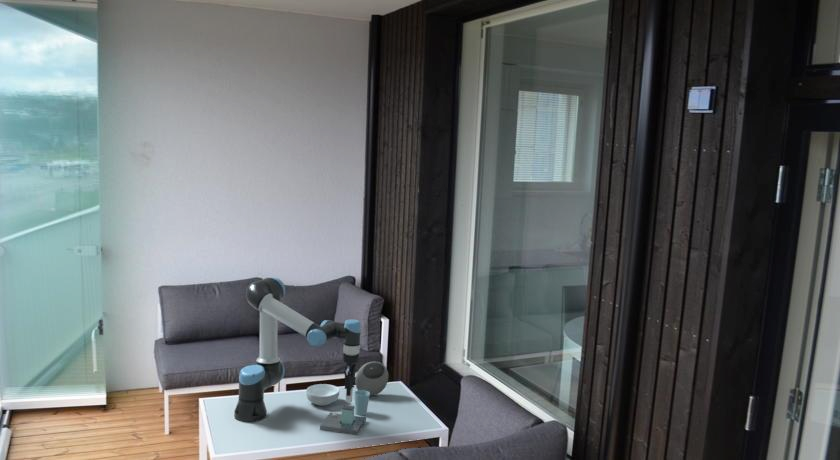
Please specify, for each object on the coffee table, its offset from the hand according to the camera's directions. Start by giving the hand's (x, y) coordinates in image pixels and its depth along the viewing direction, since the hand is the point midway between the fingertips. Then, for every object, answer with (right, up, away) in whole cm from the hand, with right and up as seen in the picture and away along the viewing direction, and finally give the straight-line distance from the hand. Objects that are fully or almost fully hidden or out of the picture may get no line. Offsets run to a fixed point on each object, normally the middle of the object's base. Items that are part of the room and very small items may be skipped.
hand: (348, 401), depth 330 cm
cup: (+4, -10, +18) cm, 21 cm away
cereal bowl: (-16, -8, +28) cm, 33 cm away
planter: (+8, -7, +42) cm, 43 cm away
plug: (-1, -12, +2) cm, 12 cm away
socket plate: (-3, -12, +2) cm, 12 cm away
